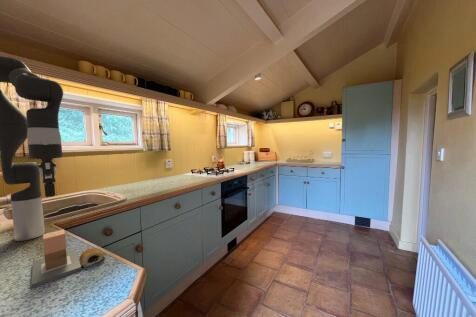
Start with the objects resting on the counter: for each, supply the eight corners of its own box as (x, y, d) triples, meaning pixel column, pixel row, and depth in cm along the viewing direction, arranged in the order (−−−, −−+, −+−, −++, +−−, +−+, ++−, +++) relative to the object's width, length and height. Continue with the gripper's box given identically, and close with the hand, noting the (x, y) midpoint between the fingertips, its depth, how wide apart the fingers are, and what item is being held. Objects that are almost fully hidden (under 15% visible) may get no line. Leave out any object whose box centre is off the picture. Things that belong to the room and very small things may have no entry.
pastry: (77, 258, 70) (76, 247, 69) (100, 251, 74) (99, 241, 74) (81, 269, 63) (80, 258, 63) (106, 260, 68) (105, 249, 68)
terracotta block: (44, 249, 64) (43, 234, 64) (65, 243, 68) (63, 229, 67) (44, 255, 60) (43, 239, 60) (66, 248, 64) (64, 233, 64)
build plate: (33, 264, 66) (32, 261, 66) (75, 251, 74) (75, 248, 74) (31, 288, 55) (31, 284, 55) (81, 269, 63) (81, 266, 62)
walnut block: (45, 264, 64) (44, 249, 64) (65, 257, 68) (64, 243, 68) (45, 270, 61) (44, 254, 60) (67, 263, 64) (65, 248, 64)
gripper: (28, 144, 64) (33, 193, 65) (26, 142, 54) (32, 200, 55) (59, 143, 69) (63, 189, 70) (63, 142, 59) (67, 195, 60)
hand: (50, 194), depth 63 cm, fingers open, 8 cm apart
